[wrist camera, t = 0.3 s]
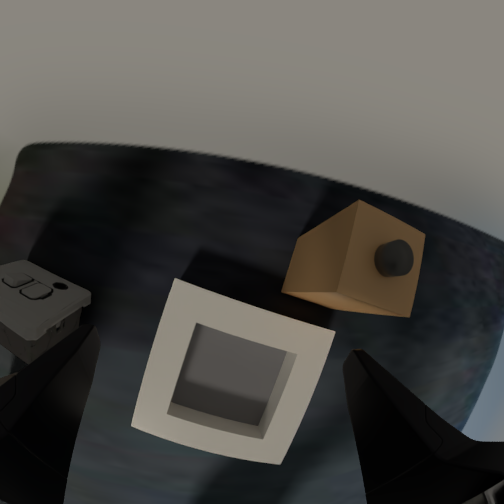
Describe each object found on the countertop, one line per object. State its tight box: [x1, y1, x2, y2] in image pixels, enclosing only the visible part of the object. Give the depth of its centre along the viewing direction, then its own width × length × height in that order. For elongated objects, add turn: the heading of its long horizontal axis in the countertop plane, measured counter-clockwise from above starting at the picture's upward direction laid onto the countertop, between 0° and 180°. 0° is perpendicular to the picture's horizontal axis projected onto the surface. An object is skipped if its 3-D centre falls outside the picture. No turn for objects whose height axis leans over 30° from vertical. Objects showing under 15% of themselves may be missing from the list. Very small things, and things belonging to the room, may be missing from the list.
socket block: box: [131, 278, 335, 465], centre depth 20 cm, size 13×13×3 cm
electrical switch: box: [0, 260, 91, 364], centre depth 16 cm, size 9×5×9 cm, turn 73°
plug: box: [281, 200, 425, 317], centre depth 18 cm, size 6×5×12 cm
